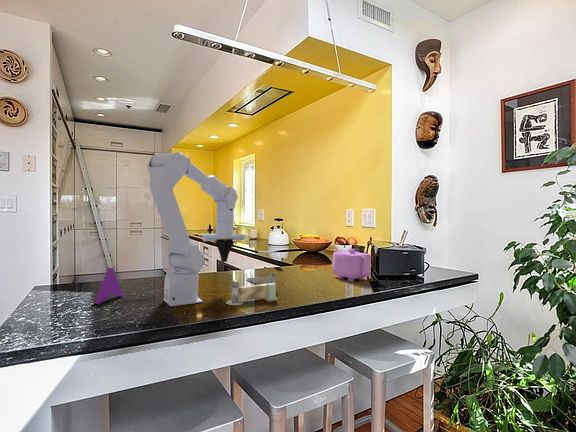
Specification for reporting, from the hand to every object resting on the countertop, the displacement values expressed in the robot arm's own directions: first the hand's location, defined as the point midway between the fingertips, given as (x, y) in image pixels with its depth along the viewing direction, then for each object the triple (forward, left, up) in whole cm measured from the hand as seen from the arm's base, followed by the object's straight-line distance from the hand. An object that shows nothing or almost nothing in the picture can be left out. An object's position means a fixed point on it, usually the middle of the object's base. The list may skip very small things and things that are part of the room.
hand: (223, 261), depth 115 cm
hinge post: (-3, -16, -10) cm, 19 cm away
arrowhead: (-34, +5, -10) cm, 36 cm away
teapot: (+55, -4, -10) cm, 56 cm away
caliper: (+15, +1, -10) cm, 18 cm away
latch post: (+8, -18, -10) cm, 22 cm away
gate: (+4, -16, -9) cm, 19 cm away
